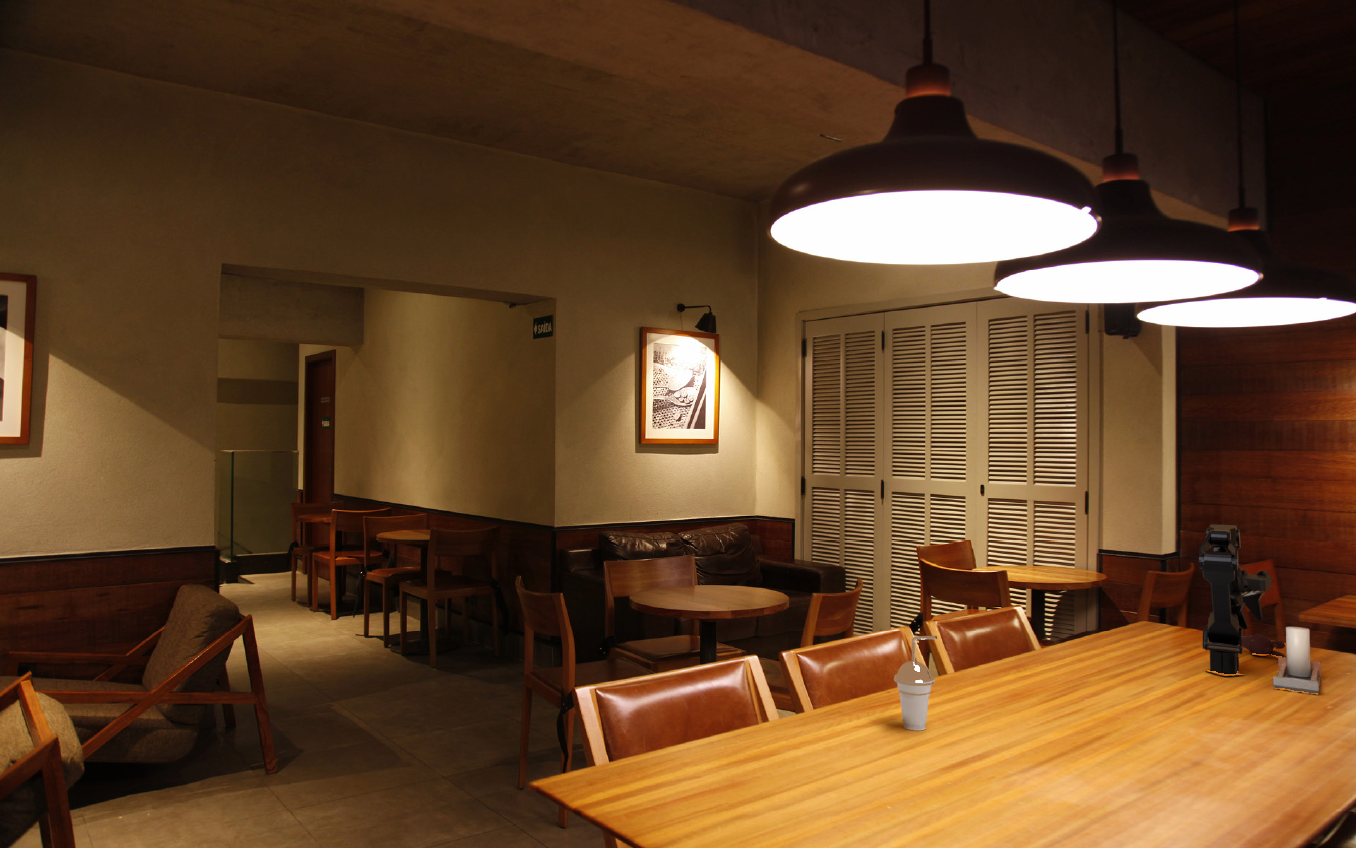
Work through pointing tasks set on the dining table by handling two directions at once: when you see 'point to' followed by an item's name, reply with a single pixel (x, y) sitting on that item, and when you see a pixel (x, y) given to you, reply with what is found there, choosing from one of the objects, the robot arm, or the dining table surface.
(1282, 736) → the dining table surface
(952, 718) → the dining table surface
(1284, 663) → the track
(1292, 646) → the white cylinder
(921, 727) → the cup with straw
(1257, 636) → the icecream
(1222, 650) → the robot arm
